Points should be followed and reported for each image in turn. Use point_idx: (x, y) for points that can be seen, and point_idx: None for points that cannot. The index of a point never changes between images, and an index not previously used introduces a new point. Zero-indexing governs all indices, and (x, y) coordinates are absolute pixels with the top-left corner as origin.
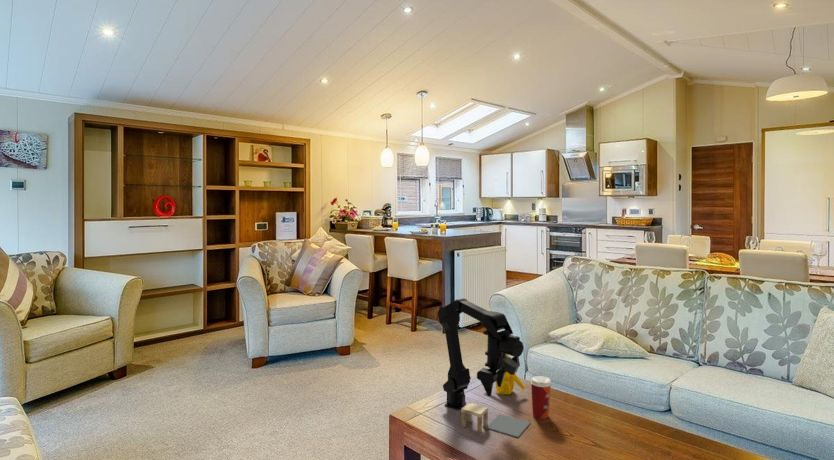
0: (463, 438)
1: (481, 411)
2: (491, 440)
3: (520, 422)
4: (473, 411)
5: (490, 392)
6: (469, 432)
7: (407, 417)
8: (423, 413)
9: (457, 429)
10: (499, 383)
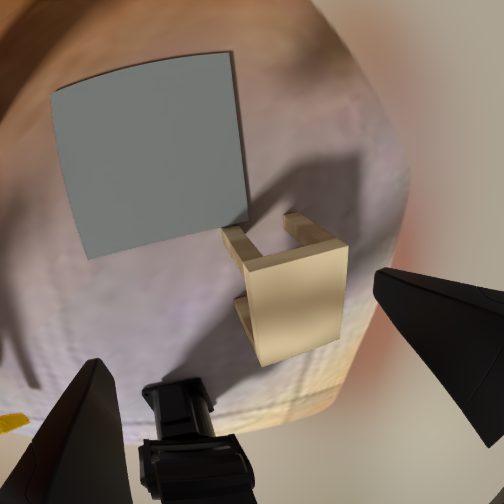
0: (361, 232)
1: (319, 262)
2: (321, 140)
3: (82, 125)
4: (338, 289)
5: (428, 280)
6: None
7: (329, 393)
8: (291, 397)
9: None
10: (101, 398)
